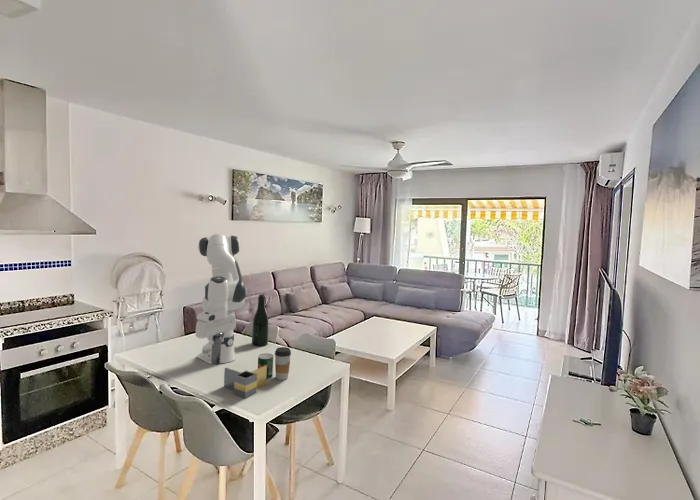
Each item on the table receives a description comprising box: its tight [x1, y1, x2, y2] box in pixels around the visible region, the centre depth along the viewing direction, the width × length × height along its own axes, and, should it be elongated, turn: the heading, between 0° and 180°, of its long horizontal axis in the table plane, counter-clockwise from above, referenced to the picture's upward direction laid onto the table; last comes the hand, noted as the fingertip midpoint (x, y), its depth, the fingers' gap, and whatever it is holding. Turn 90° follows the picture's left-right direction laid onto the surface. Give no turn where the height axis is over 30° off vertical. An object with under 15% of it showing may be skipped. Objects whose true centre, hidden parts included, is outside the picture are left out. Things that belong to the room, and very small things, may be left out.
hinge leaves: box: [223, 366, 267, 399], centre depth 183 cm, size 17×17×9 cm
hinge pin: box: [210, 333, 223, 366], centre depth 171 cm, size 5×5×14 cm
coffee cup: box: [274, 346, 292, 381], centre depth 196 cm, size 8×8×15 cm
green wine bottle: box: [251, 293, 269, 347], centre depth 246 cm, size 10×10×33 cm
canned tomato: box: [257, 352, 275, 380], centre depth 196 cm, size 8×8×11 cm
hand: (216, 343), depth 171 cm, fingers closed on hinge pin, 4 cm apart
